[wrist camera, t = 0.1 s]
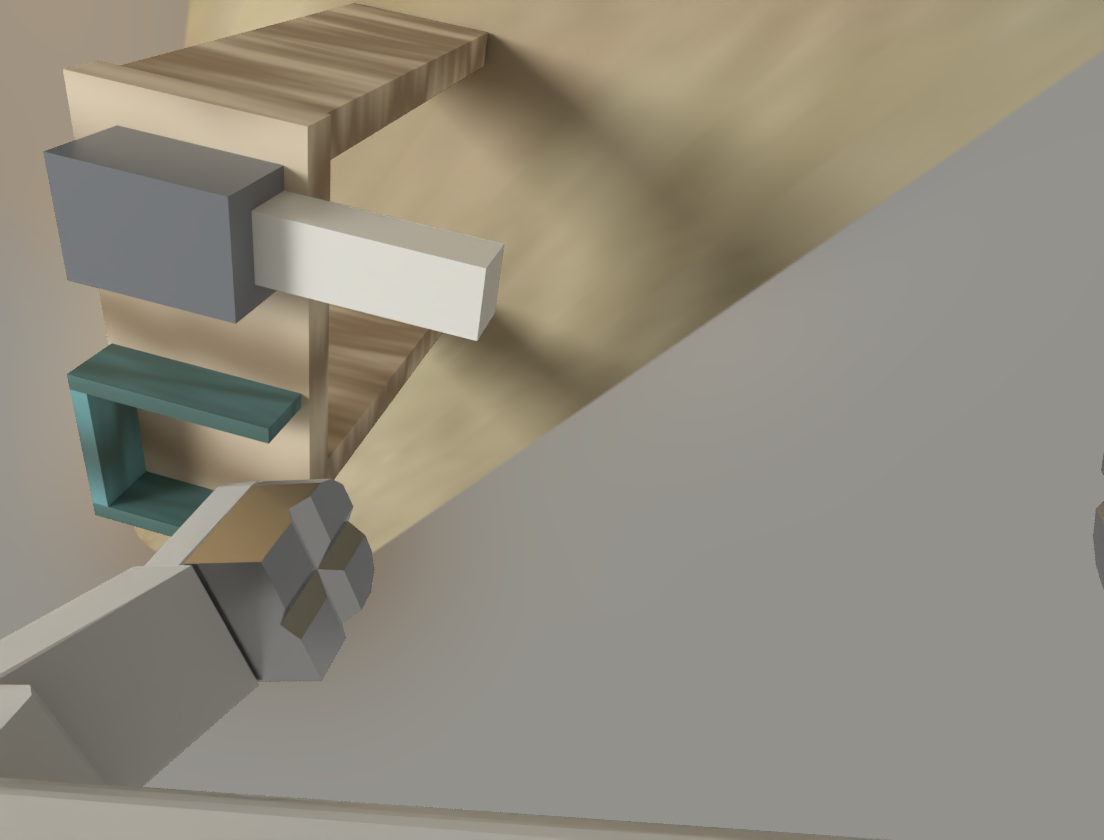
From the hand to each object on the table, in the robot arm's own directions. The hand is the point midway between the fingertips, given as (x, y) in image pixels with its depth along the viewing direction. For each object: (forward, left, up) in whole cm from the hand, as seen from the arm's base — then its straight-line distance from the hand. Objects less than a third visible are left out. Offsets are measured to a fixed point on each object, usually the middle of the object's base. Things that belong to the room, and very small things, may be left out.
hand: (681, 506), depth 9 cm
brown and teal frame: (+6, -24, -48) cm, 54 cm away
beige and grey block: (+2, -17, -22) cm, 28 cm away
